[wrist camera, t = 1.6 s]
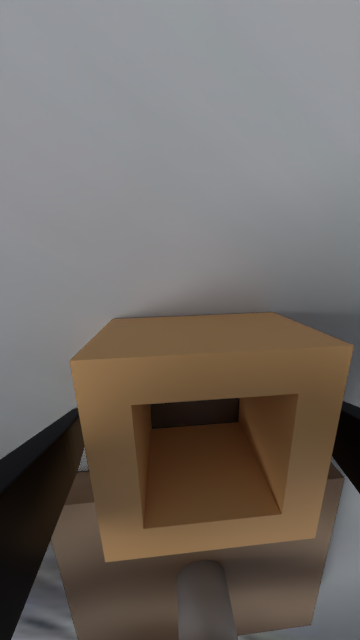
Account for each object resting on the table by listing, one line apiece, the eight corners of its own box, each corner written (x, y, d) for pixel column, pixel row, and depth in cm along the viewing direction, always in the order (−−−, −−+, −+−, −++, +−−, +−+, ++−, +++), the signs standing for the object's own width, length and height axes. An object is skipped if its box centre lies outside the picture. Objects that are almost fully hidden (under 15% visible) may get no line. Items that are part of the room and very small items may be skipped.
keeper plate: (296, 588, 14) (386, 809, 8) (91, 615, 13) (35, 882, 8) (321, 450, 11) (488, 645, 5) (59, 473, 10) (-74, 736, 5)
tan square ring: (261, 441, 11) (315, 538, 7) (127, 452, 10) (105, 562, 6) (273, 312, 9) (354, 345, 5) (112, 319, 9) (69, 360, 5)
